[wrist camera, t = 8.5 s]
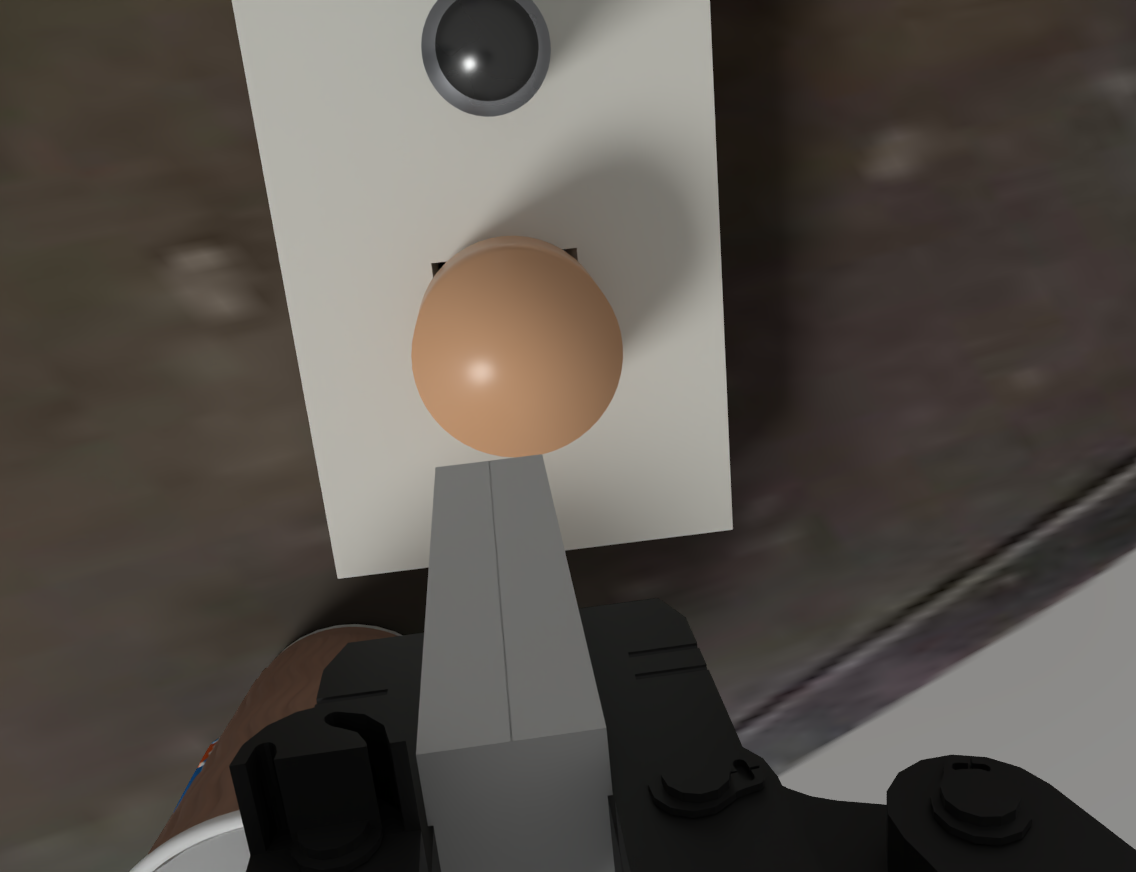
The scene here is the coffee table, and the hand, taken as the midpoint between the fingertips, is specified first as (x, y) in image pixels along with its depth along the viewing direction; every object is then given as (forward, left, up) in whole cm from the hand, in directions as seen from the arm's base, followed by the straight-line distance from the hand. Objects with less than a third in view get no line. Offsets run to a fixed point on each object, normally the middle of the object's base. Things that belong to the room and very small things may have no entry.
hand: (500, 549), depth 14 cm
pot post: (+1, +7, -15) cm, 16 cm away
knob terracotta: (+1, 0, -18) cm, 18 cm away
